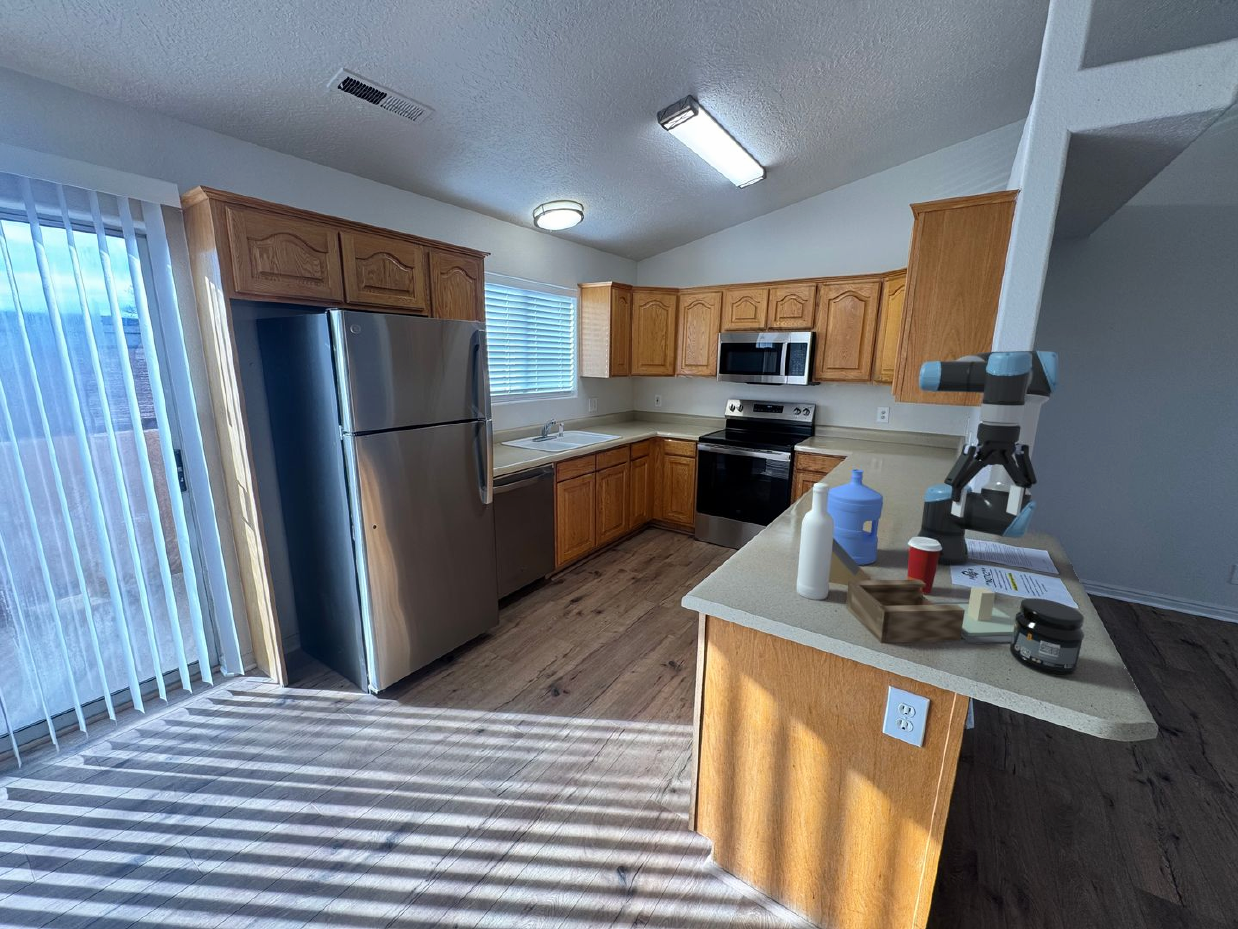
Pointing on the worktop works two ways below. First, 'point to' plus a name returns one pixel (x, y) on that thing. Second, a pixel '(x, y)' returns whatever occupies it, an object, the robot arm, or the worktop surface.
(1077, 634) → the supplement container
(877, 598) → the walnut box
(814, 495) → the bottle
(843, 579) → the sandwich container
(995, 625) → the cover plate
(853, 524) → the water jug
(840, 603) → the worktop surface
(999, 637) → the charcoal mat
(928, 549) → the paper cup
